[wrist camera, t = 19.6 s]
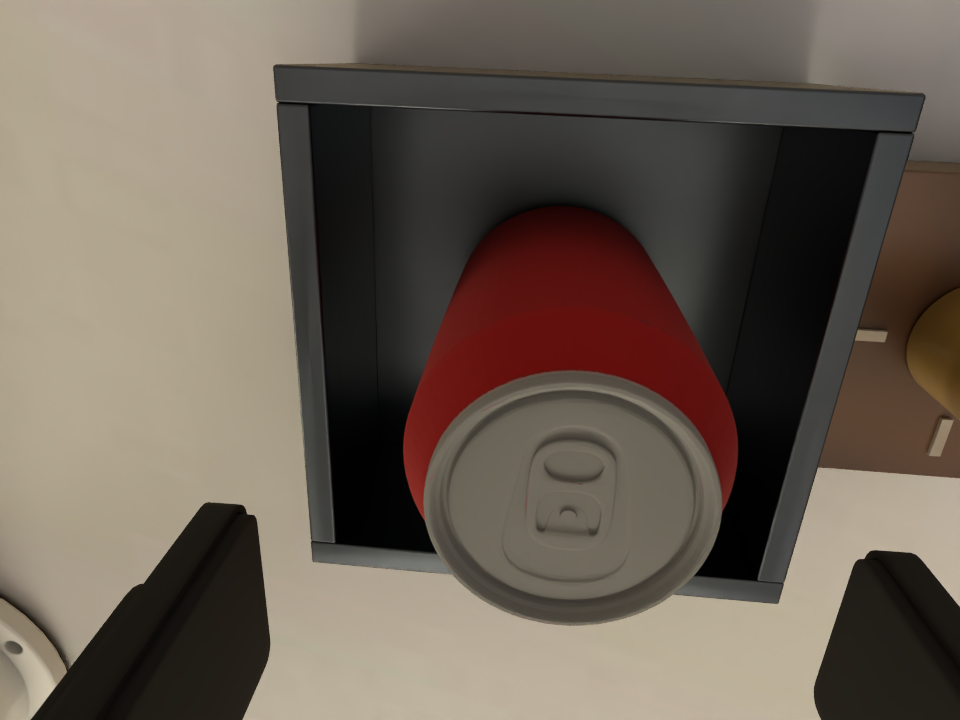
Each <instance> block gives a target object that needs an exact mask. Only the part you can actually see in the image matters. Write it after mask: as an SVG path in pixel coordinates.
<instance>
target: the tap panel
mask: <svg viewBox="0 0 960 720" xmlns="http://www.w3.org/2000/svg"><path fill="white" fill-rule="evenodd" d="M958 288H960V163H947V162H927V161H908V160H907V163H906V166H905V170H904V173H903V177H902V180H901V184H900V187H899V190H898V194H897V197H896V201H895V204H894V208H893V211H892V214H891V218H890V221H889V225H888V228H887V232H886V235H885V238H884V242H883V245H882V249H881V252H880V256H879V259H878V262H877V266H876V269H875V273H874V276H873V280H872V283H871V286H870V290H869V293H868V297H867V300H866V304H865V307H864V310H863V314H862V317H861V321H860V324H859V328H858V331H857V334H856V338H855V341H854V345H853V348H852V352H851V355H850V358H849V362H848V365H847V369H846V372H845V376H844V379H843V382H842V386H841V389H840V393H839V396H838V400H837V403H836V407H835V410H834V413H833V417H832V420H831V424H830V427H829V431H828V434H827V437H826V441H825V444H824V448H823V451H822V455H821V458H820V461H819V465H818V467H822V468H835V469H848V470H861V471H874V472H886V473H899V474H912V475H925V476H938V477H950V478H960V420H959V419H958V418H956V417H955V416H954V415H953V414H952V413H951V412H950V411H948V410H947V409H946V408H945V407H944V406H943V405H941V404H940V403H939V402H938V401H937V400H936V399H934V398H933V397H932V396H931V395H930V394H929V393H927V392H926V391H925V390H924V389H923V388H922V387H921V386H919V385H918V384H917V382H916V381H915V380H914V379H913V377H912V375H911V373H910V371H909V368H908V364H907V352H906V351H907V344H908V340H909V337H910V334H911V332H912V330H913V328H914V326H915V324H916V323H917V321H918V320H919V318H920V317H921V316H922V314H923V313H924V312H925V311H926V310H927V309H928V308H929V307H930V306H931V305H932V304H933V303H935V302H936V301H937V300H938V299H940V298H941V297H943V296H944V295H946V294H948V293H949V292H951V291H953V290H955V289H958Z"/></svg>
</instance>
